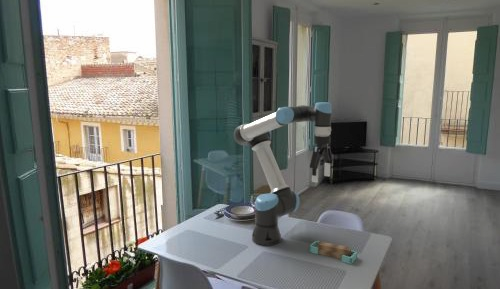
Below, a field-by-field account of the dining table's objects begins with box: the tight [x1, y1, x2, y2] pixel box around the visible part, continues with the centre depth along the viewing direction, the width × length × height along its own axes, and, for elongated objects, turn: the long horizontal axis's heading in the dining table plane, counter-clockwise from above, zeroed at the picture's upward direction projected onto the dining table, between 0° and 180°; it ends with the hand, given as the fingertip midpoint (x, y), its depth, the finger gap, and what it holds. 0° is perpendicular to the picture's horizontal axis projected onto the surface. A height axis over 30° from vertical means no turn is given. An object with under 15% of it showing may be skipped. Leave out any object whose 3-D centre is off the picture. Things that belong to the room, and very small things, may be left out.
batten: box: [317, 240, 352, 260], centre depth 167 cm, size 15×4×5 cm, turn 62°
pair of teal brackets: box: [308, 240, 358, 265], centre depth 167 cm, size 21×8×3 cm, turn 54°
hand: (321, 179), depth 170 cm, fingers open, 13 cm apart
